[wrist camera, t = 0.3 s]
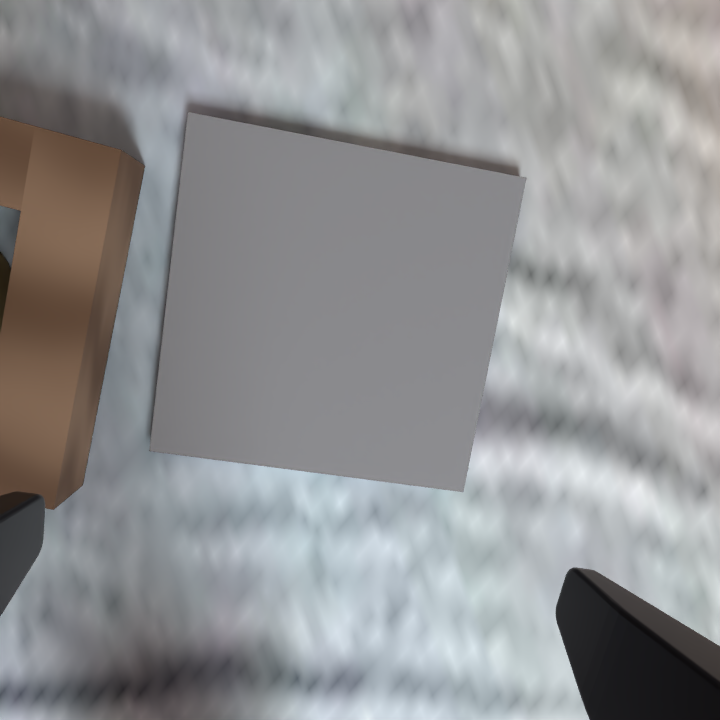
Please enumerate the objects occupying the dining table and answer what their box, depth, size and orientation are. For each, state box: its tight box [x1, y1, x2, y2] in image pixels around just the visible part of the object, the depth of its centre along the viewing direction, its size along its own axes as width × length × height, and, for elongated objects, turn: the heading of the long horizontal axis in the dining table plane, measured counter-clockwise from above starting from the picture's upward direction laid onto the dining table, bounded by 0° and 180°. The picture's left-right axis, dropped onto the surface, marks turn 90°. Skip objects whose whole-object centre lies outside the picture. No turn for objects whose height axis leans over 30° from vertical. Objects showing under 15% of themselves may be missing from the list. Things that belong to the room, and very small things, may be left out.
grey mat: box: [149, 112, 526, 492], centre depth 22 cm, size 14×14×1 cm
